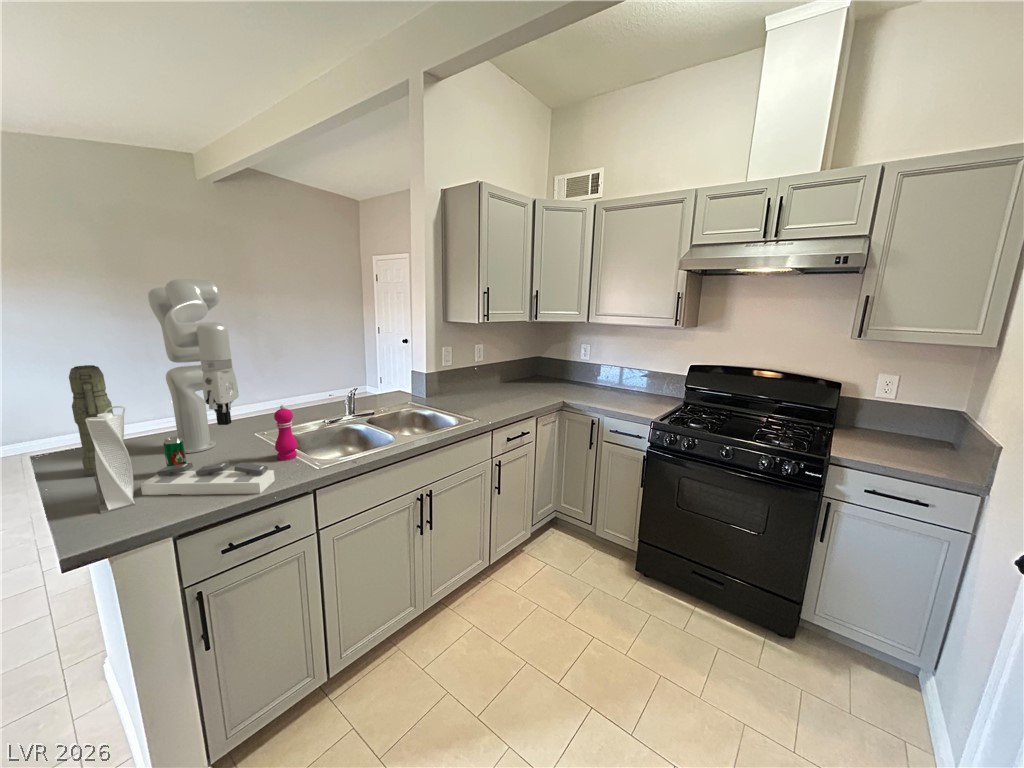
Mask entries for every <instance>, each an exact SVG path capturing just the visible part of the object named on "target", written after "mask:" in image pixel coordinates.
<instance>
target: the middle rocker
mask: <svg viewBox="0 0 1024 768" xmlns="http://www.w3.org/2000/svg"><path fill="white" fill-rule="evenodd" d="M229 468H231V463H230V462H223V463H217V464H212V465H205V466H202V467H201V468H199V469H197V470H194V471H195V472H196V475H197V476H198V475H204V474H209V475H212V474H213V473H216V472H222V471H227V470H228V469H229Z"/></svg>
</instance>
